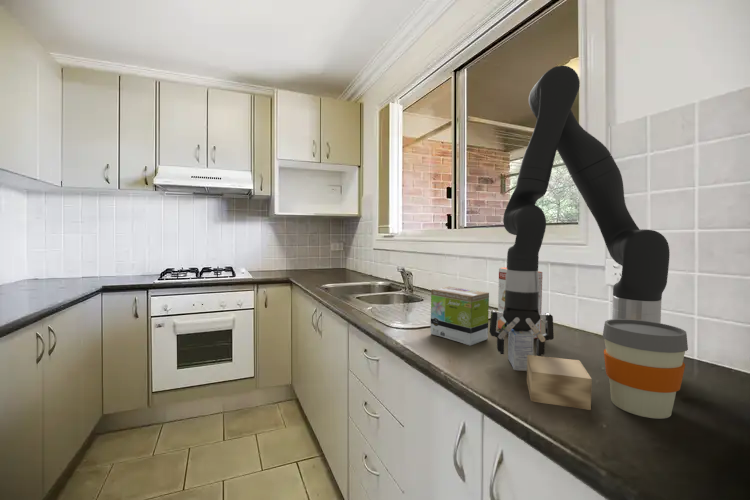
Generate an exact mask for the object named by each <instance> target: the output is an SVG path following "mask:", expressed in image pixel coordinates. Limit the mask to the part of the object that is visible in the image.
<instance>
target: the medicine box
mask: <svg viewBox="0 0 750 500" xmlns="http://www.w3.org/2000/svg"><path fill="white" fill-rule="evenodd" d="M507 334H508V338H507V340H508V343H507V344H508V345H507V350H508V351H507V359H508V361H509V363H510V365H511V367H512V369H513V370H514V371H519V372H527V355H534V341H535V339H534V337H533V335H532V334H531V333H530V331H523V330H519V331H515V330H513V329H512V330H511V331H510V332H509V333H507Z"/></svg>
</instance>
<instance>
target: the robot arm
mask: <svg viewBox="0 0 750 500" xmlns="http://www.w3.org/2000/svg"><path fill="white" fill-rule="evenodd" d="M580 84H581V82H580V77H579V74H578V72H577V71H576V70H575V69H574V68H572V67H570V66H569V65H557V66H553V67H552V68H549V70H547V71H546V72H545V73H543V74H542V76H541V77H540V78H539V79H538V81H537V82H536V83H535V84H534V86H533V87H532V89H531V90H530V92H529V96H528V104H529V108H530V110H531V112H532V113H533V115H534V116H535V118H536V122H535V126H534V129H533V132H532V135H531V137H530V140H529V142H528V144H527V147H526V149H525V150H524V154H523V158H522V160H521V163H520V166H519V167H520V168H519V172H518V176H517V180H516V185H515V188H514V190H513V192H512V194H511V196H510V198H509V201H508V202H507V205H506V208H505V210H504V213H503V218H502V219H503V220H502V222H503V226H504V229H505V231H506V232H507V233H508V234H510V235H514V236H515V240H514V243H513V245H512V246H509V248H508V249H507V255H506V256H507V257H506V268H507V273H506V281H505V309H504V311H503V312H498V310H497V311H496V310H494V309H493V310H491V311H490V318H489V319H490V320H489V330H488V333H489V335H490V336H491V337H494V338H496V344H497V345H496V348H497V351H498V352H499V354H500V355H505V339H504V338H505V337H506V336H507V334H508V333H509V332H510V331H511V330H512V329H513V330H515V331H519V330H523V331H529V330H532V331H533V332H534V333H535V335H536V336H537V337H538V338H536V352H535V353H536V356H544V355H545V348H546V346H545V344H546V341H551V340H554V336H555V335H554V333H555V332H554V316H553V315H552V314H551V313H549V312H545V313H541V314H539V312H538V303H539V275H538V271H539V254H540V249H541V247H542V245H543V240H544V237H545V233H546V229H547V220H546V219H547V218H546V214H545V212H544V211H543V209H542V208H541V207H539V206H538V205H536V204H537V202H538V200H539V199H541V198H543V197H544V196H545V195H546V194H547V191H548V188H549V184H550V179H551V175H552V170H553V166H554V161H555V158H556V153H558V154H559V156H560V158H561V161H563V164H564V166H565V167H566V169H567V171H568V174H569V175H570V178H571V180H572V181H573V183H574V185H575V186H576V189H577V190H578V191H579V193H580V195H581V197H582V198H583V200H584V202H585V204H586V206H587V208H588V209H589V212H590V213H591V214H592V216H593V217H594V219H595V222H596V223H597V226H598V228H599V230H600V233H601V236H602V238H603V240H604V243H605V246H606V248H607V251H608V253H609V255H610V257H611V258H612V260H614V262H615V263H617V264H618V265H620V266H622V267H621V268H622V269H621V277H620V279H619V280H618V282H616V283H614V284H613V288H612V308H611V309H612V311H611V319H631V320H642V321H650V322H656V323H661V320H662V300H663V299H662V297H663V292H664V291H665V289H666V288H667V287H666V286H667V283H668V276H669V267H670V255H671V254H670V245H669V242H668V240H667V238H666V237H665V235H663V234H662V233H660V232H659V231H656V230H653V229H640V228H639V227H638V225H637V223H635V220H634V219H633V217H632V216H631V214H630V211H629V209H628V207H627V204H626V201H625V199H626V198H625V189H624V180H623V176H622V173H621V171H620V169H619V167H618V165H617V163H616V160H615V159H614V157H613V156H612V153H611V152H610V151H609V149H608V148H607V147H606V146H605V144H604V143H603V142H601V141H600V140H599V139H597V138H596V137H595V136H593V135H592V134H591V133H589V132H588V131H586V130H585V129H584V128H583V126H582V125H580V123H579V122H578V119H576V117H575V115H574V113H573V111H572V107H573V105H574V103H575V101H576V98H577V96H578V94H579V89H580V86H581V85H580ZM501 317H504V319H505V320H506V322H505V324H504V325H503V326H502V328H501V329H500V328H499V330H497V326H498V320H500V318H501ZM540 319H541V322H543V323H544V330H545V331H544V333H542V331H541V332H540V331H539V330H538V328H537V327H536V326H535V325H536V323H537V322H538V321H539V320H540ZM661 324H662V323H661Z"/></svg>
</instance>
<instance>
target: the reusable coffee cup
mask: <svg viewBox="0 0 750 500" xmlns="http://www.w3.org/2000/svg"><path fill="white" fill-rule="evenodd" d="M603 325H604V326H603V331H602V332H603V333H602V337H603V339H604V344H605V349H603V358H604V365H605V373H606V376H607V377H608V379H609V380H608V381H609V391H610V400H611V402H612V404H613V405H615V406H616V407H617V408H619V409H621V410H623V411H624V412H627V413H630V414H633V415H635V416H639V417H643V418H650V419H668V418H670V417H671V416H672V413H673V408H674V404H675V401H676V400H675V399H676V394H677V392H679V391H680V390H681V386H682V382H683V378H684V373H685V369H686V364H685V362H684V357H685V354H686V353H685V352H687V351H688V349H689V347H688V346H689V345H688V335H687V331H686V330H684V329H682V328H679V327H677V326H674V325H673V326H672V325H670V324H666V323H656V322H650V321H642V320H631V319H612V318H611V319H607V320H605V321H604V324H603Z"/></svg>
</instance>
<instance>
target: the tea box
mask: <svg viewBox="0 0 750 500" xmlns="http://www.w3.org/2000/svg"><path fill="white" fill-rule="evenodd" d="M430 291H431V292H430V335H433V336H438V337H441V338H445V339H448V340H450V341H454V342H458V343H461V344H464V345H467V346H470V347H471V346H474V345H476V344H479V343H481V342H484V341H486V340H488V339H489V337H488V336H489V314H490V313H489V312H490V311H489V310H490V309H489V308H490V306H489V305H490V292H485V291H480V290H475V289H467V288H461V287H455V286H444V287H441V288H435V289H430Z"/></svg>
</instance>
